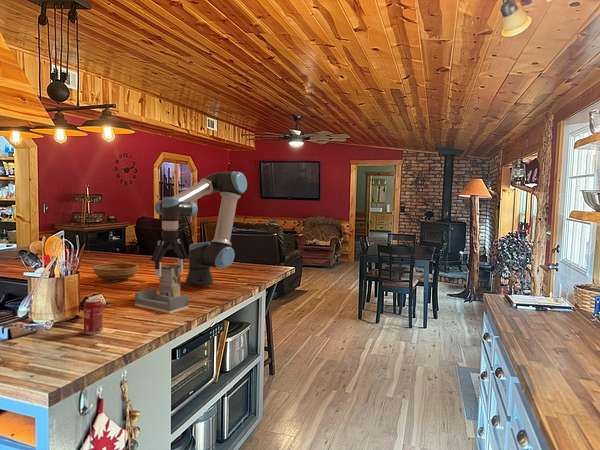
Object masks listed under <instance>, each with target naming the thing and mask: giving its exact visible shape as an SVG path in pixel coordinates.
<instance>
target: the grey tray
mask: <svg viewBox="0 0 600 450" xmlns="http://www.w3.org/2000/svg"><path fill="white" fill-rule="evenodd" d="M189 296H190V295H189V294H188V293H187V294H186V293H185V294H183V295H182V294H180V296H178V297H169V296H164V295H160V293H159V294H158V291H157V287H156V288H155V287H153V288H149V289H144V290H140V291H136V292H134V306H135V307H140V308H144V309H148V310H149V309H150V310H153V311H158V312H162V313H166V314H173V313H176V312H179V311H180V312H181V311H183V310H187V309H189V306H190V302H189V301H190V300H189V298H190V297H189Z"/></svg>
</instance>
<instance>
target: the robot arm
mask: <svg viewBox="0 0 600 450" xmlns="http://www.w3.org/2000/svg"><path fill="white" fill-rule="evenodd" d="M247 188H248V181H247V178H246V176H245V174H244V173H242V172H241V171H235V170H234V171H217V172H213V173H211V174H209V175H206V176H205V177H202V178H200V180H199V182H198V183H195V184H193V185H191V186H190V187H187V188H186V189H184V190H183V191H180V192H179V193H177V194H175V195H173V196H165V197H162V199H161V200H158V201H157V202H156V203H155V205H154V211H155V213H156V214H157V215H159V216H161V229H162V230H161V238H162V240H156V246H155V249H154V251H153V254H152V255H151V259H150V261H151V262H153V263H154V269H155V277H160V276H161V267H162V262H161V261H162V259H163V257H164V255H166V252H167V251H169V250H173V251H174V253H175V254H176V256H177V257H178V258H177V265H180V274H181V273H183V272H184V271H183V270H184V267H183V266H184V261H185V260H186V258H187V257H188V271H187V276H186V278H185V284H186V285H188V286H192V287H193V286H194V287H203V286H204V287H205V286H210V285H213V284H214V279H213V275H212V271H211V268H218V269H227V268H228V267H230V266H231V265H232V264H233V262H234V259H235V256H236V255H235V254H236V253H235V250H234V248H233V247H232V246H233V245H232V242H231V237H232V231H233V225H234V220H235V215H236V209H237V203H238V200H239V199H240V198H241V197H242V194H243V193H245V192H246V191H247V190H248V189H247ZM214 193H219V194H220V196H221V200H220V207H219V212H218V217H217V222H216V227H215V234H214V238H213V239H212V240H211V241H205V242H204V241H203V242H197V243H196V242H194V243H191V244H190V245H188V247H189V248H188V255H187V251H186V250H185V245H184V244H183V239H181V238H179V230H178V229H179V222H180V221H179V218H185V217H187V218H190V217H195V216H196V215H197V213H198V210H199V209H198V205H197V204H196V202H195V201H197V200H198V199H201V198H202V197H204V196H206V195H211V194H214Z"/></svg>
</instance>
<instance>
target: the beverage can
mask: <svg viewBox="0 0 600 450" xmlns="http://www.w3.org/2000/svg"><path fill="white" fill-rule="evenodd" d="M103 329H104V303H103V301H102V300H101V298H88V299H85V302H84V304H83V332H85V333H86V334H87V335H96V334H100V333H101V331H103Z"/></svg>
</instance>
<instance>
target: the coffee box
mask: <svg viewBox="0 0 600 450" xmlns="http://www.w3.org/2000/svg"><path fill="white" fill-rule="evenodd" d="M158 277H159V276H158ZM159 295H164V296H169V297H178V296H181V273H180V265H178V264H167V265H164V266H161V276H160V277H159Z"/></svg>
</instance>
